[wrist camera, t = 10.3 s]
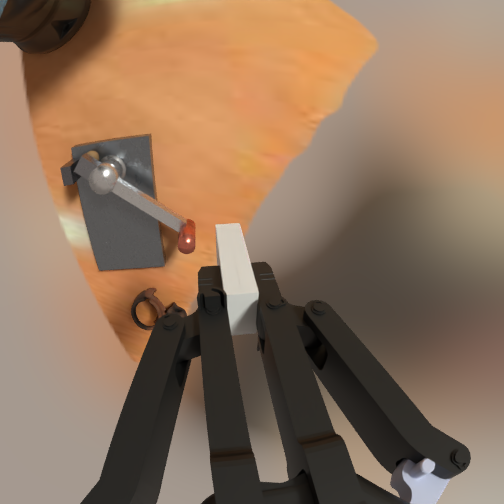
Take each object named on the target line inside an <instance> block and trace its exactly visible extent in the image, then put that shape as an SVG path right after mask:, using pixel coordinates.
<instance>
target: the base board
mask: <svg viewBox="0 0 504 504" xmlns="http://www.w3.org/2000/svg"><path fill="white" fill-rule="evenodd" d="M71 150H72V156H73V159H72V160H71V161H69V162H68V163H66V164H65V165H64V166H62V167H61V173H62V179H63V184H64V186H66V185H72V184H74V183H75V182H76V181H77V185H78V190H79V195H80V200H81V204H82V209H83V213H84V217H85V221H86V225H87V229H88V233H89V237H90V241H91V244H92V248H93V251H94V255H95V258H96V261H97V265H98V268H99V270H114V269H130V268H146V267H161V266H165V262H166V259H165V252H164V246H163V240H162V233H161V226H160V221H159V220H157V219H156V218H154V217H152V216H151V215H149V214H147V213H146V212H144V211H142V210H141V209H139V208H138V207H136V206H134V205H133V204H131V203H129V202H128V201H126V200H124V199H123V198H121V197H120V196H118V195H116V194H115V193H113V192H110V193H108V194H105V195H100V194H97V193H95V192H94V191H93V190H92V189H91V187H90V185H89V181H88V180H87V179H85V178H83V177H82V176H80V175H79V174H77V173H76V172H74V170H75V168H76V166H77V164H78V162H79V160H80V158H81V156H82V155H84V154H85V153H87V152H89V151H96V152H97V153H98V154H99V161H100V162H103V161H104V160H105V159H109V158H113V159H116V160H117V161H119V162H120V163H121V165H122V168H123V175H122V177H121V179H123V180H124V181H126V182H128V183H129V184H131V185H132V186H134V187H136V188H137V189H139V190H140V191H142V192H144V193H145V194H147V195H148V196H150V197H152V198H153V199H155V200H156V201H157V194H156V185H155V176H154V165H153V154H152V141H151V134H144V135H136V136H128V137H121V138H114V139H107V140H101V141H95V142H90V143H84V144H79V145H75V146H74V147H72V148H71Z"/></svg>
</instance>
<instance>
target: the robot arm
mask: <svg viewBox="0 0 504 504" xmlns="http://www.w3.org/2000/svg"><path fill="white" fill-rule="evenodd" d="M89 7H90V0H0V42H13V43H15V44H16V45H17V46H18V47H19V48H20V49H21V50H22V51H24V52H27V53H33V54H43V53H48V52H51V51H53V50H55V49H57V48H59V47H61V46H62V45H64V44H65V43H66V42H67V41H69V40H70V39H71V38H72V37H73V36H74V35H75V33H76V32H77V31H78V30H79V28H80V27H81V25H82V24H83V22H84V20H85V18H86V16H87V14H88V11H89ZM216 249H217V265H218V266H206V267H201V269H200V270H199V272H198V289H199V293H198V295H197V302H198V309H197V310H196V312H194V313H193V314H191V315H189V316H186V317H183V318H182V317H181V316H179V315H177V314H165V315H163V316H161V317H160V318H158V320H157V321H156V323H155V326H154V328H153V330H152V333H151V335H150V338H149V340H148V343H147V345H146V348H145V350H144V353H143V355H142V358H141V360H140V363H139V366H138V368H137V371H136V373H135V376H134V379H133V381H132V384H131V387H130V390H129V392H128V395H127V398H126V401H125V403H124V406H123V409H122V412H121V414H120V417H119V420H118V423H117V426H116V429H115V432H114V435H113V438H112V441H111V444H110V447H109V450H108V454H107V457H106V460H105V463H104V467H103V470H102V474H101V477H100V480H99V481H98V482H97V484H96V485H95V486H94V488H93V489H92V490H91V491H90V492H89V494H88V495H87V496H86V497H85V498H84V500H83V501H82V502H81V503H80V504H156V503H157V499H158V496H159V493H160V489H161V484H162V479H163V474H164V470H165V466H166V461H167V457H168V453H169V448H170V444H171V440H172V435H173V431H174V427H175V423H176V419H177V415H178V411H179V407H180V403H181V398H182V395H183V390H184V386H185V382H186V379H187V375H188V371H189V367H190V363H191V359H192V358H195V357H198V356H201V362H202V376H203V388H204V400H205V410H206V421H207V430H208V438H209V448H210V464H211V471H212V480H213V487H214V494H212V495H211V496H209V497H208V498H206V499H205V500H204V501H203V502H202V503H201V504H436V503H437V501H438V500H439V498H440V496H441V494H442V493H443V491H444V489H445V487H446V485H447V484H448V482H449V480H450V479H451V478H452V477H454V476H456V475H458V474H460V473H461V472H463V471H464V470H466V469H467V467H468V466H469V463H470V459H471V457H470V452H469V450H468V448H467V447H466V446H465V445H463V444H462V443H460V442H458V441H456V440H455V439H453V438H451V437H450V436H448V435H446V434H445V433H443V432H441V431H440V430H438V429H436V428H435V427H433V426H432V425H431V424H430V423H429V422H428V420H427V419H426V418H425V417H424V416H423V414H422V413H421V412H420V411H419V409H418V408H417V407H416V406H415V405H414V403H413V402H412V401H411V400H410V399H409V397H408V396H407V395H406V394H405V393H404V391H403V390H402V389H401V388H400V387H399V385H398V384H397V383H396V382H395V381H394V379H393V378H392V377H391V376H390V375H389V373H388V372H387V371H386V370H385V369H384V368H383V366H382V365H381V364H380V363H379V362H378V361H377V359H376V358H375V357H374V356H373V355H372V354H371V352H370V351H369V350H368V349H367V348H366V347H365V345H364V344H363V343H362V342H361V341H360V340H359V338H358V337H357V336H356V335H355V334H354V333H353V331H352V330H351V329H350V328H349V327H348V326H347V325H346V323H345V322H344V321H343V320H342V319H341V318H340V317H339V315H338V314H337V313H336V312H335V311H334V310H333V309H332V307H331V306H330V305H328V304H327V303H326V302H323V301H319V300H314V301H310V302H308V303H307V304H306V306H305V307H301V306H295V305H291V304H289V303H288V302H287V301H286V299H284V298H283V297H282V296H281V293H280V291H279V288H278V285H277V283H276V280H275V277H274V274H273V271H272V269H271V267H270V266H269V265H268V264H267V263H266V262H256V263H250V259H249V255H248V252H247V248H246V245H245V241H244V237H243V234H242V230H241V226H240V223H234V224H216ZM256 329H257V330H258V345H257V350H258V351H259V350H260V352H261V357H262V361H263V364H264V369H265V374H266V378H267V382H268V386H269V390H270V394H271V399H272V403H273V407H274V411H275V415H276V419H277V424H278V428H279V432H280V435H281V440H282V444H283V447H284V452H285V456H286V460H287V473H288V478H289V480H288V481H286V482H284V483H271V482H260V480H259V475H258V470H257V466H256V461H255V457H254V453H253V452H252V448H251V443H250V438H249V433H248V428H247V423H246V417H245V412H244V406H243V401H242V396H241V389H240V384H239V378H238V372H237V366H236V360H235V354H234V348H233V342H232V335H241V334H252V333H256ZM312 369H313V370H314V372H315V373H316V375H317V376H318V378H319V379H320V381H321V382H322V383H323V385H324V386H325V388H326V389H327V390H328V392H329V393H330V395H331V396H332V398H333V399H334V401H335V402H336V403H337V405H338V406H339V408H340V409H341V411H342V412H343V413H344V415H345V416H346V418H347V419H348V420H349V422H350V423H351V425H352V426H353V427H354V429H355V430H356V432H357V433H358V435H359V436H360V437H361V439H362V440H363V442H364V443H365V444H366V446H367V447H368V449H369V450H370V451H371V452H372V454H373V455H374V457H375V458H376V459H377V461H378V462H379V463H380V464H381V465H382V466H383V467H384V468H385V469H386V470H387V471H389V472H390V473H391V474H392V477H391V482H390V483H391V484H390V485H391V486H392V488H394V489H395V490H397V492H398V493H399V496H400V498H399V497H397V496H395V495H393V494H391V493H390V492H388V491H386V490H384V489H382V488H381V487H379V486H377V485H375V484H373V483H372V482H370V481H368V480H367V479H365V478H363V477H362V476H360V475H358V474H356V473H355V470H354V467H353V464H352V461H351V459H350V456H349V453H348V450H347V447H346V444H345V442H344V440H343V439H342V437H341V436H340V435H338V434H336V433H335V431H334V429H333V426H332V423H331V420H330V418H329V415H328V412H327V409H326V406H325V404H324V401H323V398H322V395H321V392H320V389H319V386H318V384H317V381H316V378H315V375H314V373H313V370H312Z"/></svg>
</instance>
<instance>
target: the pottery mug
mask: <svg viewBox="0 0 504 504" xmlns="http://www.w3.org/2000/svg"><path fill="white" fill-rule="evenodd" d="M155 291H156V289H155V288H149V289H147V291H146V290H145V291H143V292H141V293H140V294H139V295H138V296H137V297H136V299H135V301H134V303H133V305H132V308H131V314H132V318H133V320H134V322H135V323H136V324H137V325H138V326H139V327H140V328H142V329H145V330H153V328H154V326H155V325H153V326H146V325H144V324H142V323H141V322H140V321H139V319H138V318H137V315H136V306H137V305H138V303H140V302H142V301H145V300H146V298H147V299H150V300H149V303H151V304H152V305H153V306H154V307H155V308H156V310H157V313H158V317H157V318H156V320H155V321H154V323H156V321H157V320H158V318H160V317H161V316H163V315H165V312H164V311H165V310H166V308H165V307H164V305H163V304H162V303H161V302H160V301H159V299H158V298H157V297H155V296H154V295H153V294H154V292H155ZM166 314H177V315H179V316H181V317H182V318H183V317H186V316H187V313H186V311H185V310H184V309H183V308H181V307H178V306H177V305H176V303H175V302H174V303H173V305H172V306H171V307H170V308H169V309H168V310H167V313H166Z"/></svg>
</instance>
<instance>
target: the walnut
mask: <svg viewBox="0 0 504 504" xmlns="http://www.w3.org/2000/svg"><path fill="white" fill-rule="evenodd" d="M87 154H88V155H90V156H92V157H93V158H95V159H96V160H98V161H99V154H98V153H97V152H96V151H89V152H87Z"/></svg>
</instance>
